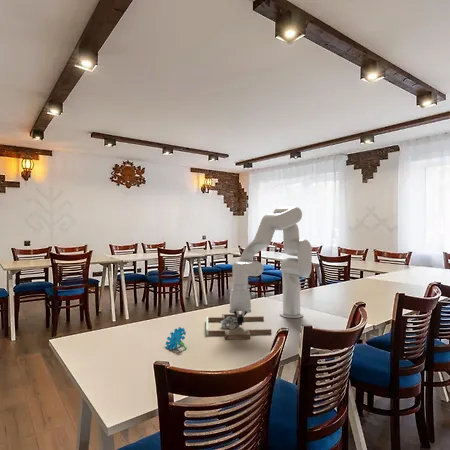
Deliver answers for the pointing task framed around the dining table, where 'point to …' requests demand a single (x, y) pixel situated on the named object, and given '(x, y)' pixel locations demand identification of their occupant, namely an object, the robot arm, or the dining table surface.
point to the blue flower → (176, 338)
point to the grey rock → (231, 321)
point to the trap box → (237, 336)
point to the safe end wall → (206, 326)
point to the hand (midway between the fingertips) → (240, 324)
